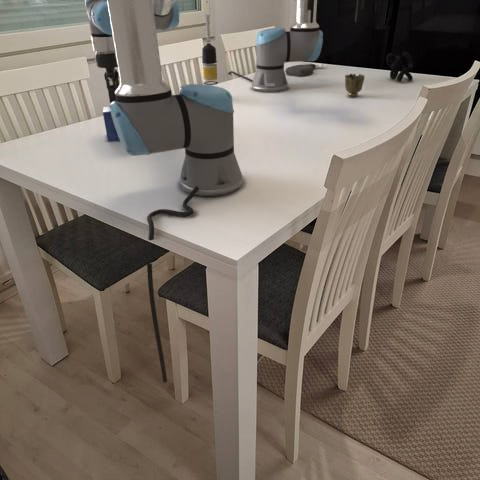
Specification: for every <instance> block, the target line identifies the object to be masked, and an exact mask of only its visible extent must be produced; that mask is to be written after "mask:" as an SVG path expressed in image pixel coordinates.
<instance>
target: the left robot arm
mask: <svg viewBox="0 0 480 480" xmlns="http://www.w3.org/2000/svg"><path fill="white" fill-rule="evenodd" d="M84 1H85V2H84V6H85V8H86V14H87V19H88V23H89V29H90V38H91V43H92V48H93V51H94V58H95V64H96V67H97V68H100V69H105V72H104V75H103V77H104V80H105V83H106V89H107V93H108V99H109V107H110V110H111V112H109V113H110V114H111V115H112V119H113V122H114V128H115V134H116V135H118V137H119V139H120V140H119V142H120V144H121V146H122V148H123V150H124V151H125V153H126V154H127V155H129V156H133V157H137V156H143V155H147V156H149V155H152V154H159V153H164V152H169V151H176V150H182V149H184V154H185V155H184V158H183V164H182V168H181V171H180V177H179V183H180V184H179V185H180V188H181V189H182V191H184V192H186V193H187V194H188V195H187V197H186V198H185V199H184V200H183V201H182V208H183V209H184V210H185V211H178V210H174V209H168V208H159V209H156V210H153V211H151V212H150V213H148V214H147V216H146V220H147V224H148V230H149V232H148V239H147V240H148V241H153V240H154V236H155V224H154V221H153V218H154V217H155V216H158V215H162V214H163V215H164V214H165V215H171V216H175V217H189V216H191V215H193V214H194V211H195V210H194V208H193V207H191V206H189V205H188V203H189V202H190V201H191V200H192V199H193V198H194V196H199V197H221V196H224V195H229V194H232V193H234V192H235V191H237V190H239V189H240V188H241V187H242V185H243V174H242V171H241V168H240V165H239V163H238V160H237V157H236V154H235V132H234V131H235V130H234V127H235V126H234V113H235V110H234V104H233V96H232V94H231V92H230V91H229V90H227V89H225V88H223V87H220V86H216V85H206V84H203V83H202V84H201V83H189V84H188V83H187V84H183V85H181V86H180V87H179V90H178V93H179V94H172V88H171V86H170V85H169V84H167V83H166V82H165V81H164V80H163V72H162V64H161V57H160V48H159V42H158V34H157V31H168V30H171V29H175V28H177V27H178V26H179V24H180V8H179V5H178V1H177V0H84ZM117 68H118V70H117ZM146 268H147V269H146V271H147V285H148V286H147V287H148V297H149V304H150V312H151V318H152V324H153V330H154V337H155V342H156V347H157V352H158V358H159V364H160V372H161V378H162V382H163V383H167V382H168V377H167V370H166V364H165V357H164V351H163V346H162V340H161V333H160V329H159V322H158V316H157V308H156V300H155V292H154V279H153V263H152V262H151V263H150V262H146Z"/></svg>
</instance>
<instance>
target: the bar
mask: <svg viewBox="0 0 480 480" xmlns="http://www.w3.org/2000/svg"><path fill="white" fill-rule="evenodd" d="M109 112H111V110H110V106H104V107H103V110H102V115H103V121H104V127H105V132H106V139H107V142H116V141H118V142H119V141H120V139H119V137H118V135H116V134H115V128H114V122H113V119H112V115H111V114H110V113H109Z"/></svg>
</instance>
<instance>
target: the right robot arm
mask: <svg viewBox="0 0 480 480" xmlns="http://www.w3.org/2000/svg"><path fill="white" fill-rule="evenodd" d="M365 2H366V1H365V0H356V7H355V14H354V15H355V16H354V22H355V23H359V22H360V13H361V11H363V10H364V9H365ZM317 5H318V0H294V18H293V22H292V24H290V26H289V31H286V28H285V27H283V26H280V27H270V28H266V29H262V30H260V31H258V33H257V34H256V41H255V46H256V49H255V50H256V51H255V52H256V54H255V55H256V57H255V59H256V60H255V61H256V64H255V73H254V76H253V79H251V78H249V77H247V76H244V75H242V74H240V73H237V72H235V71H233V70H230V71H229V72H228V74H227V75H231V74H234V75H236V76H237V77H241V78H242V79H245V80H247V81H249V82H251V89H252V90H253V91H256V92H261V93H278V92H283V91H286V90H287V89H288V87H289V86H288V85H289V84H288V83H289V82H288V80H287V76H286V72H285V63H296V62H297V63H298V62H299V63H300V62H301V63H303V62H304V63H308V62H315V61H317V60H318V58H320V57H319V56H320V55H321V52H322V48H323V43H324V39H323V38H324V33H323V31H322V30H320V25H319V23H317V8H318V7H317Z"/></svg>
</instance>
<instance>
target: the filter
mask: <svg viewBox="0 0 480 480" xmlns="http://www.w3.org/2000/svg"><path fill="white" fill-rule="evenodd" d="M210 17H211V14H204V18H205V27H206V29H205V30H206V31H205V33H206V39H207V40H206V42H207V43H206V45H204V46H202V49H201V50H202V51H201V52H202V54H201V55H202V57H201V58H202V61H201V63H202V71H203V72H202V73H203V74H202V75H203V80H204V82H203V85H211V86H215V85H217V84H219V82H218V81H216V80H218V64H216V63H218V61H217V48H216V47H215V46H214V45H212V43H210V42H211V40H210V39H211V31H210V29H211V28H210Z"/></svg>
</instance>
